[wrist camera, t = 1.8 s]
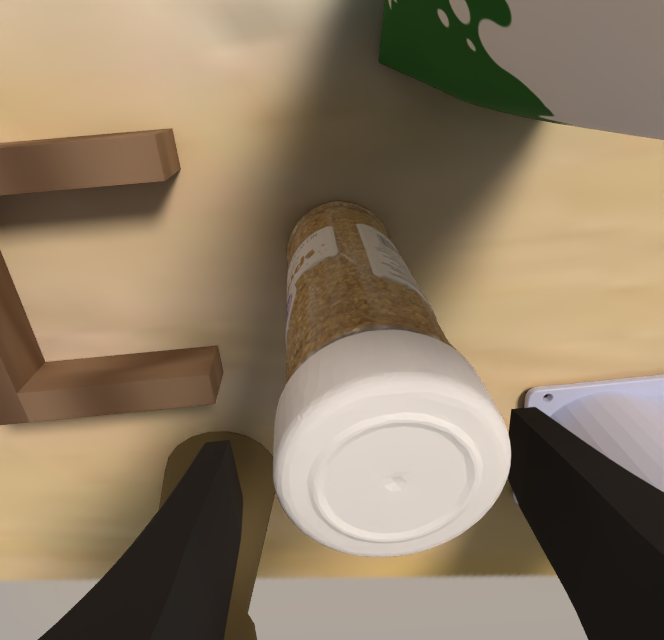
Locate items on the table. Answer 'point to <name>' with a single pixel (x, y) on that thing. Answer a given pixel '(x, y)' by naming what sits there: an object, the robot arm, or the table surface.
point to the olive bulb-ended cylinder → (256, 513)
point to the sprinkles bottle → (376, 400)
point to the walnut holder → (100, 372)
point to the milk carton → (538, 57)
